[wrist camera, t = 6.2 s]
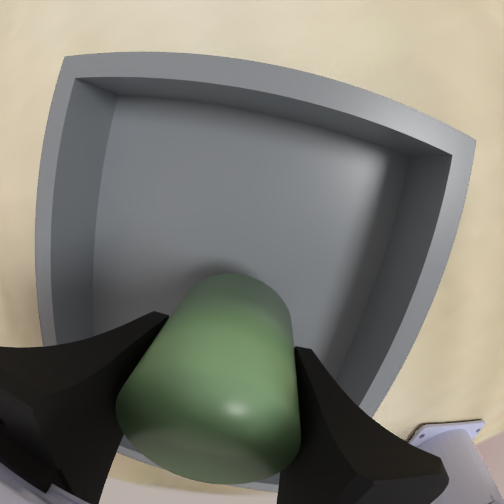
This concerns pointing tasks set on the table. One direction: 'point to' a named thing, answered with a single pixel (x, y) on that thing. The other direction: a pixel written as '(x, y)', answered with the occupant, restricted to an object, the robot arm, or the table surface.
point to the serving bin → (245, 205)
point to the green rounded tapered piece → (217, 386)
